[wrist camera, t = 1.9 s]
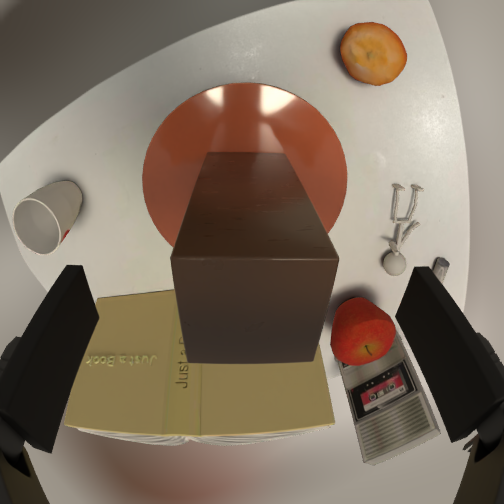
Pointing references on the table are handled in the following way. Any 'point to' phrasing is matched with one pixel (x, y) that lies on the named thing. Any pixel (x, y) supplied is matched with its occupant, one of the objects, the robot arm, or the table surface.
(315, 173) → the orange pedestal stand
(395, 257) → the figurine
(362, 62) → the fruit
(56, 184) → the cup
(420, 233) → the table surface
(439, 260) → the rod
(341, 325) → the apple
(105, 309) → the book
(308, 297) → the walnut block
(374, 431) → the cassette tape recorder
